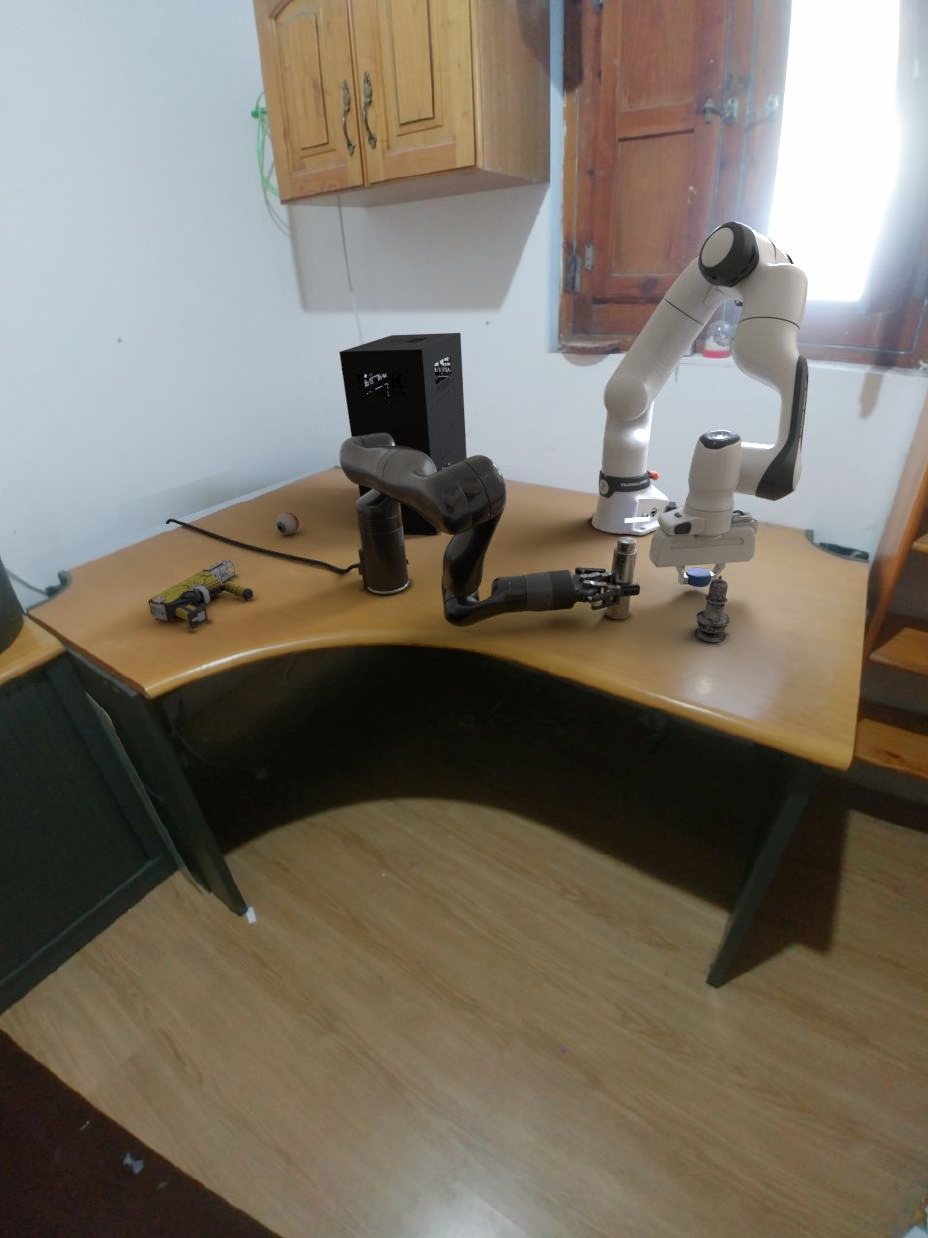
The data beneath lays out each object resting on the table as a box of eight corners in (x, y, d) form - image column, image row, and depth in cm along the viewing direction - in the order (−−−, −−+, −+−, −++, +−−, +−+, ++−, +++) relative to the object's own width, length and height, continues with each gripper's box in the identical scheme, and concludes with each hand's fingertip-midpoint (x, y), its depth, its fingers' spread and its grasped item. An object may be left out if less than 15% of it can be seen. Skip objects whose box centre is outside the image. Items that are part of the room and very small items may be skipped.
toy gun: (275, 568, 138) (221, 556, 142) (203, 614, 118) (142, 599, 122) (277, 586, 140) (223, 575, 144) (207, 635, 120) (146, 620, 124)
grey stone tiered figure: (729, 644, 107) (742, 583, 101) (695, 641, 108) (705, 582, 102) (724, 627, 112) (735, 568, 106) (691, 625, 113) (700, 567, 107)
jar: (602, 610, 120) (611, 536, 112) (622, 608, 121) (632, 534, 113) (611, 620, 117) (620, 545, 109) (631, 618, 117) (642, 543, 109)
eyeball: (273, 537, 164) (268, 516, 161) (287, 528, 169) (282, 508, 166) (291, 539, 161) (286, 518, 158) (305, 530, 166) (301, 510, 163)
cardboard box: (436, 534, 159) (422, 349, 137) (364, 531, 164) (339, 351, 141) (468, 489, 191) (460, 332, 168) (407, 487, 195) (391, 335, 173)
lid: (712, 587, 122) (714, 577, 121) (688, 587, 122) (689, 577, 121) (705, 576, 126) (707, 567, 125) (681, 577, 127) (683, 567, 125)
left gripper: (555, 590, 107) (650, 582, 107) (539, 557, 119) (624, 550, 120) (554, 627, 110) (646, 618, 111) (539, 591, 123) (621, 584, 124)
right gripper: (752, 509, 120) (740, 572, 127) (650, 516, 120) (643, 578, 127) (767, 520, 115) (754, 585, 122) (660, 527, 114) (653, 592, 121)
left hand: (634, 583), depth 116 cm, fingers closed on jar, 4 cm apart
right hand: (696, 582), depth 124 cm, fingers closed on lid, 4 cm apart
